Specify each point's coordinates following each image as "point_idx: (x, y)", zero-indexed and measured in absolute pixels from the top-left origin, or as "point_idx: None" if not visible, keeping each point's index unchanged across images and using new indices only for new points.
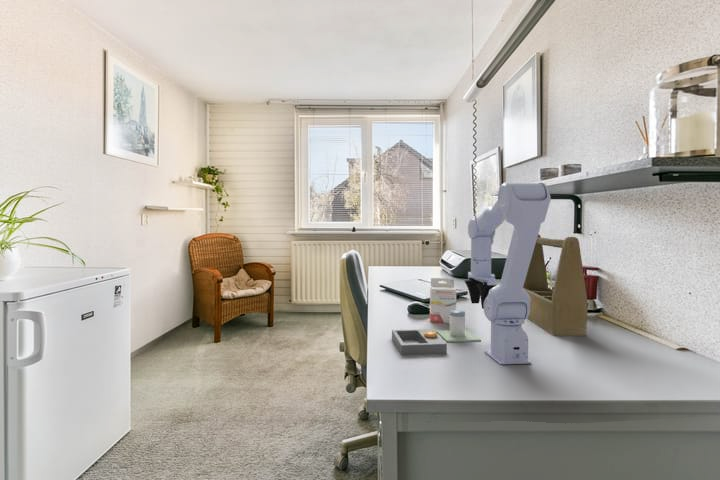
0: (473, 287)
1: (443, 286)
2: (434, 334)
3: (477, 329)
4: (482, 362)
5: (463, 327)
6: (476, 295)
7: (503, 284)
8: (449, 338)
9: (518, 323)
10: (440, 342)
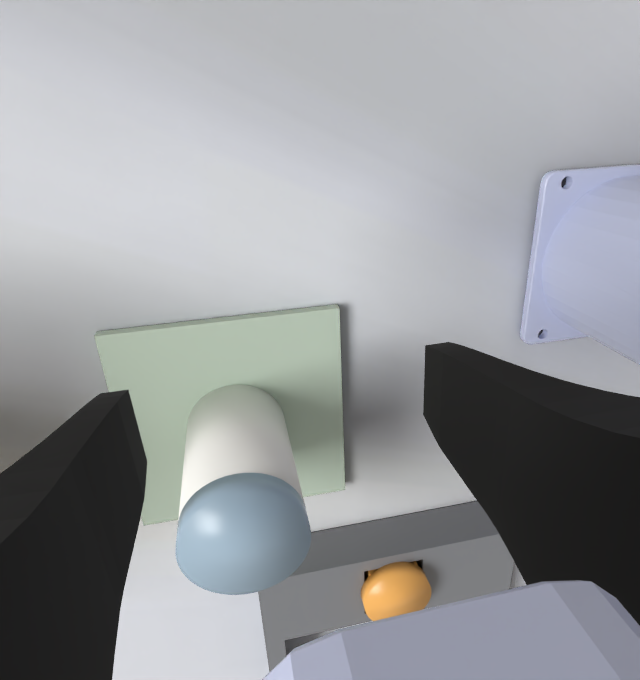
0: (87, 650)
1: None
2: (420, 585)
3: (16, 239)
4: (626, 380)
5: (281, 432)
6: (111, 487)
7: None
8: (309, 475)
9: None
10: (495, 552)
